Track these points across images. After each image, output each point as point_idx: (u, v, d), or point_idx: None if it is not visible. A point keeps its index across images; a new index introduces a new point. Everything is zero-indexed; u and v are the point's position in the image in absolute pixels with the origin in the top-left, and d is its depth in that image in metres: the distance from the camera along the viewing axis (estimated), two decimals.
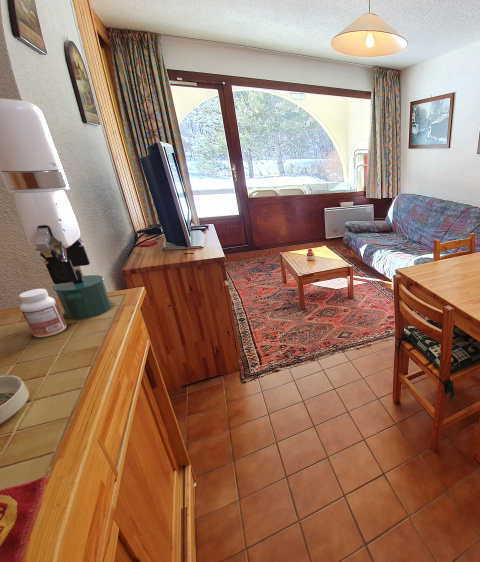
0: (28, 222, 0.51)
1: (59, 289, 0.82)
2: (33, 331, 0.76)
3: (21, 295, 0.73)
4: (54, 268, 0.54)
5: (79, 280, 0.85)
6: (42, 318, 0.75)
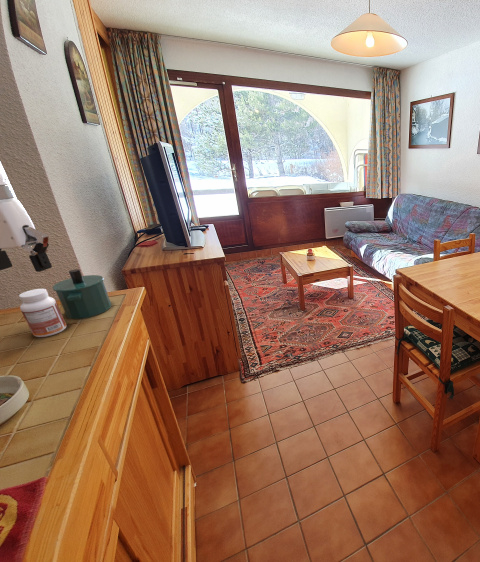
0: (15, 224, 0.66)
1: (59, 289, 0.82)
2: (33, 331, 0.76)
3: (21, 295, 0.73)
4: (40, 258, 0.71)
5: (79, 280, 0.85)
6: (42, 318, 0.75)
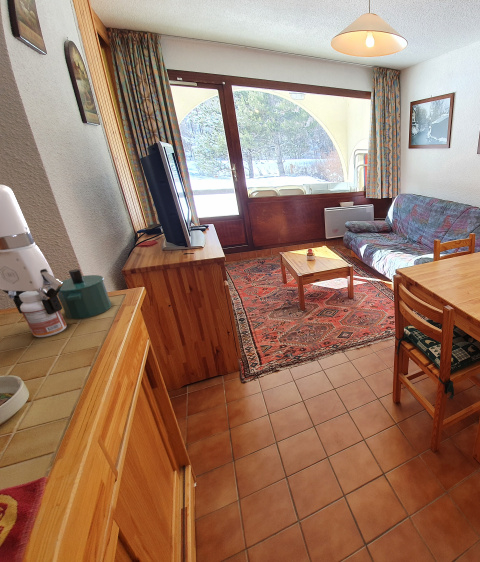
0: (34, 269, 0.71)
1: None
2: (33, 331, 0.76)
3: (21, 295, 0.73)
4: (52, 301, 0.75)
5: (79, 280, 0.85)
6: (42, 318, 0.75)
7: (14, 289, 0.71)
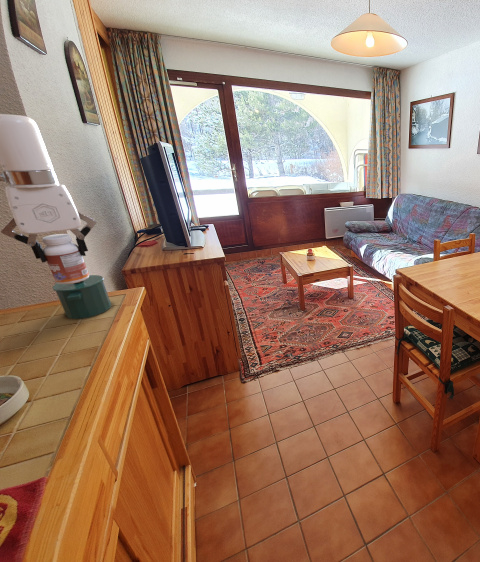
0: (74, 205, 0.71)
1: (59, 289, 0.82)
2: (68, 277, 0.73)
3: (50, 238, 0.70)
4: None
5: None
6: (78, 260, 0.74)
7: (49, 230, 0.69)
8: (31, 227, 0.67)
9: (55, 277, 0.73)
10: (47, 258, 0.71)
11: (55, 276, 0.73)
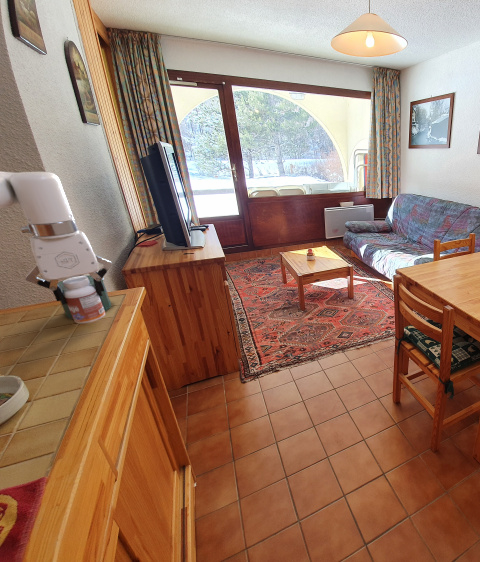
0: (92, 250, 0.76)
1: None
2: (86, 317, 0.77)
3: (70, 282, 0.74)
4: (101, 283, 0.80)
5: None
6: (95, 300, 0.79)
7: (70, 275, 0.73)
8: (53, 274, 0.71)
9: (74, 317, 0.77)
10: (67, 300, 0.75)
11: (74, 316, 0.77)
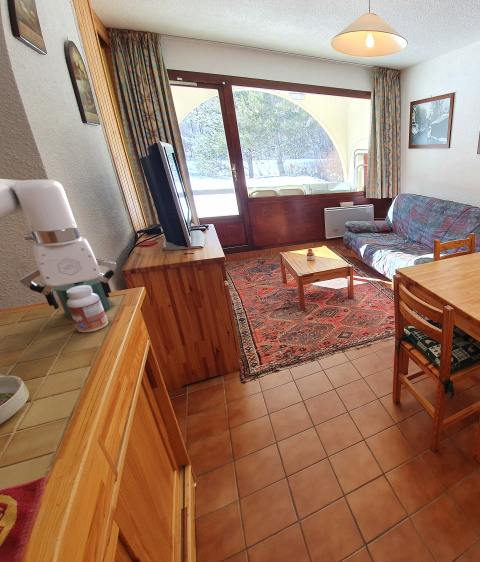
0: (94, 257, 0.76)
1: (59, 289, 0.82)
2: (89, 326, 0.78)
3: (73, 292, 0.75)
4: (108, 284, 0.81)
5: None
6: (98, 309, 0.79)
7: (71, 281, 0.74)
8: (55, 280, 0.72)
9: (77, 326, 0.78)
10: (70, 310, 0.76)
11: (77, 325, 0.78)
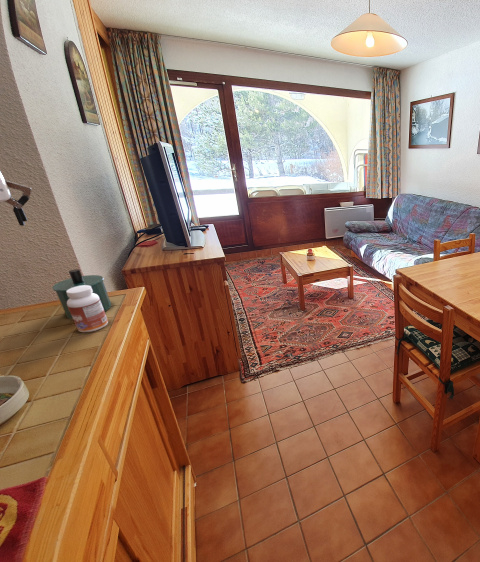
0: (1, 176, 0.69)
1: (59, 289, 0.82)
2: (89, 326, 0.78)
3: (73, 292, 0.75)
4: (23, 211, 0.73)
5: (79, 280, 0.85)
6: (98, 309, 0.79)
7: None
8: None
9: (77, 326, 0.78)
10: (70, 310, 0.76)
11: (77, 325, 0.78)
